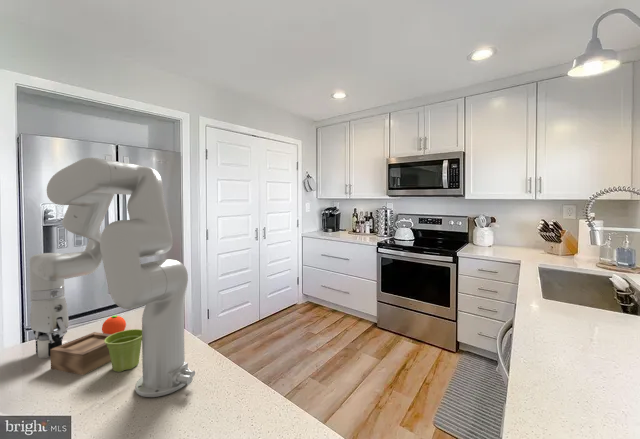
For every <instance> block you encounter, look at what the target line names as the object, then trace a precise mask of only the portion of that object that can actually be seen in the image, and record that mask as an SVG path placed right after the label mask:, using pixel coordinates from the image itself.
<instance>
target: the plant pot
mask: <svg viewBox="0 0 640 439" xmlns="http://www.w3.org/2000/svg"><path fill="white" fill-rule="evenodd" d="M104 342H105V344H107V347H108V349H109V353H110V358H111V361H110V362H111V363H110V364H111V368H112V370H113V371H114V372H120V373H121V372H123V371H126V370H128V371H130V370H132V369H134V368H135V367H137V366H138V365H139V362H140V357H141V350H142V348H141V347H142V329H139V328H132V329H127V330H126V329H125V330H124V331H121V332H117V333H114V334H112V335H110V336H108V337H107V338H106V339H105V340H104Z"/></svg>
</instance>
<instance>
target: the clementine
mask: <svg viewBox="0 0 640 439" xmlns="http://www.w3.org/2000/svg"><path fill="white" fill-rule="evenodd" d="M126 326H127V322H126V320H125V318H124V317H122V316H120V315H112V316H110V317H108V318H107V319H105V321H103V323H102V327H101V333H105V334H114V333H117V332H121V331H125V330H126V328H127V327H126Z"/></svg>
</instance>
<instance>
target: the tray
mask: <svg viewBox="0 0 640 439" xmlns="http://www.w3.org/2000/svg"><path fill="white" fill-rule="evenodd" d="M110 335H112V334H105V333H103V332H97V331H94V332H91V333H89V334H86V335H84V336H81V337H78V338H75V339H73V340H70V341H68V342H66V343H62V345H60V346H58V347H55V348H53V349H50V370H53V371H58V372H65V373H70V374H75V375H81V376H85V375H86V374H88V373H90V372H92V371H94V370H96V369H99V367H101V366H102V367H103V365H105V364H108V363H110V362H111V358H110V353H109V349H108V347H107V344H105V342H104V340H105V339H106V338H107V337H108V336H110Z"/></svg>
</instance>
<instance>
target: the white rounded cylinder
mask: <svg viewBox="0 0 640 439" xmlns="http://www.w3.org/2000/svg"><path fill="white" fill-rule="evenodd" d="M56 334H58V333H54V334H53V336H55V335H56ZM36 341H37V345H38V354H37V358H39V359H45V358H49V357H50V356H49V355H48V343H50V340H49V335H48V333H46V334H43V335H41V336H39V339H38V340H36Z"/></svg>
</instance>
